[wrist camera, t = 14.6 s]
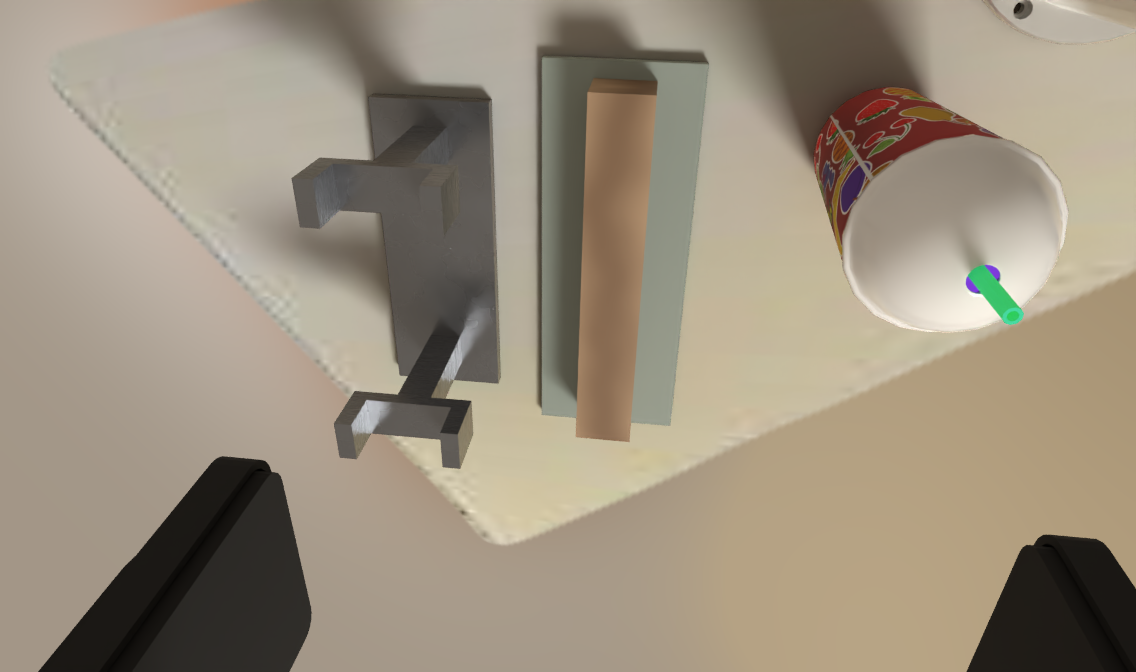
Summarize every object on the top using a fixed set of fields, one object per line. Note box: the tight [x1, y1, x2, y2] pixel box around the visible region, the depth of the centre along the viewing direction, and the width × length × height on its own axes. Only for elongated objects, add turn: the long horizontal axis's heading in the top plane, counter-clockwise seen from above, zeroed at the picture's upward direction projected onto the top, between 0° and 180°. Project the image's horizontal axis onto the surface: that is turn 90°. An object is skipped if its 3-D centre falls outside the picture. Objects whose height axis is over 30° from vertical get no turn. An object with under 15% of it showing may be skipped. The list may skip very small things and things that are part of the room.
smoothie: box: [814, 87, 1069, 333], centre depth 33 cm, size 8×8×20 cm
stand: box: [292, 94, 501, 469], centre depth 43 cm, size 7×19×11 cm, turn 179°
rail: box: [576, 78, 658, 442], centre depth 45 cm, size 4×22×4 cm, turn 178°
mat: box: [542, 56, 709, 426], centre depth 47 cm, size 9×24×1 cm, turn 179°
